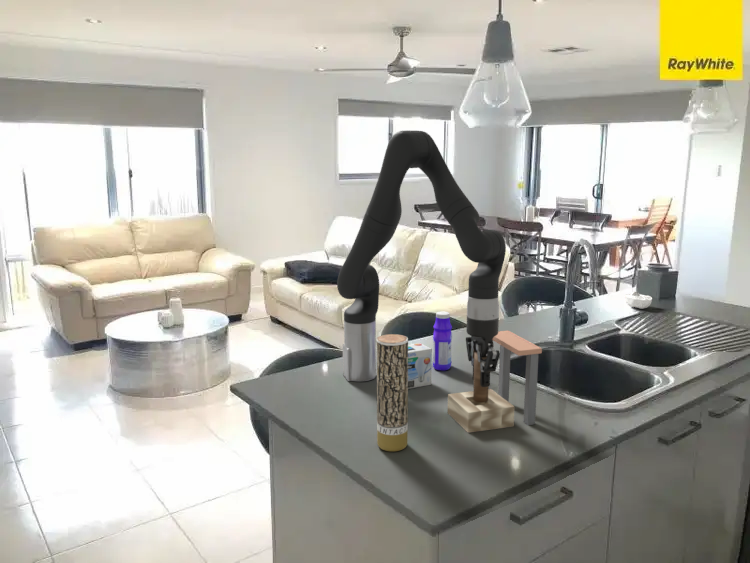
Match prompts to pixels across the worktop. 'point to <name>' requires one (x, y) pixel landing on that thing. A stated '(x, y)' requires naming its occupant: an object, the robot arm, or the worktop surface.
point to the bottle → (442, 341)
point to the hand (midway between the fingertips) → (481, 383)
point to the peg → (479, 392)
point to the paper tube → (392, 392)
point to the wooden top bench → (531, 351)
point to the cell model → (638, 300)
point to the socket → (480, 411)
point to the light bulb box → (419, 365)
